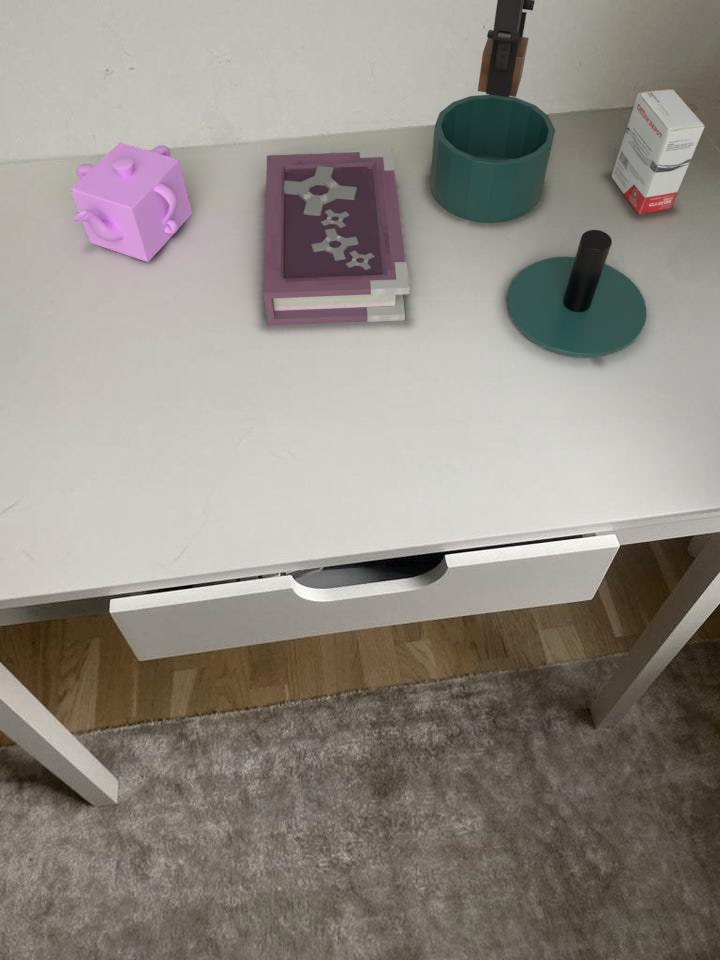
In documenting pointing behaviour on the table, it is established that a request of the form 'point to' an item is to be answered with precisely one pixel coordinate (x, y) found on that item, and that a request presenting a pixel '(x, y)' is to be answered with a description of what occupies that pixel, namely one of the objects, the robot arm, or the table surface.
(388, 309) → the book
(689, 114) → the ink box
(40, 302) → the table surface
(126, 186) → the teapot
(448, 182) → the tin
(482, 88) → the block
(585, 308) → the lid
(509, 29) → the robot arm
